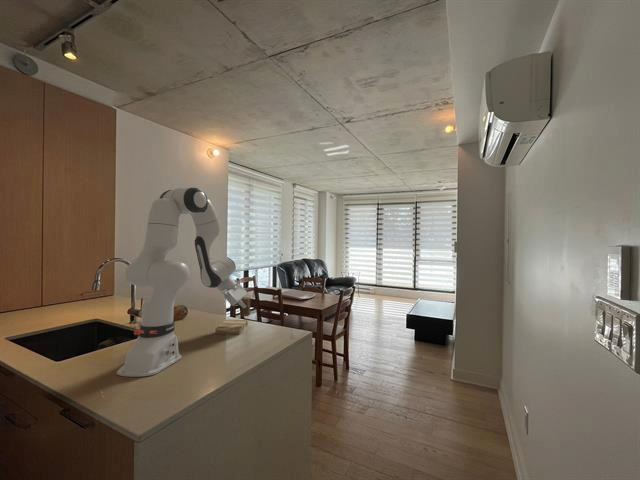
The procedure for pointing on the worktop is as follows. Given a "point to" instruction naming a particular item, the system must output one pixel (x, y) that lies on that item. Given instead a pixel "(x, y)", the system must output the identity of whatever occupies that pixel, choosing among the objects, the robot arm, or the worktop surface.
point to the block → (246, 310)
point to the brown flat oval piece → (180, 312)
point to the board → (231, 327)
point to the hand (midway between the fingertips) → (247, 305)
